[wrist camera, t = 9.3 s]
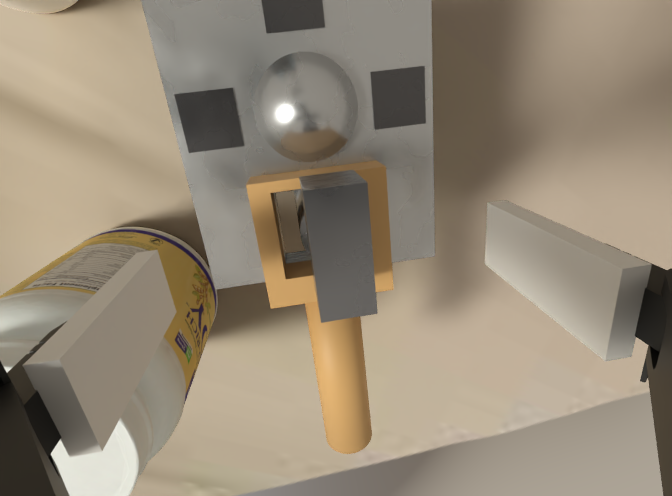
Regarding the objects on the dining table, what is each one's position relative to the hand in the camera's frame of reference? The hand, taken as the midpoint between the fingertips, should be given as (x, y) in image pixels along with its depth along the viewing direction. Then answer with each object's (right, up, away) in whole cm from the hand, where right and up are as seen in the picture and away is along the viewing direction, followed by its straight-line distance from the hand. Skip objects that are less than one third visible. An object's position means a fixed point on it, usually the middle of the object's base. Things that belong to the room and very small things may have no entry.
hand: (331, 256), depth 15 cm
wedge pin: (-2, +6, +15) cm, 16 cm away
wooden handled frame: (0, -3, +10) cm, 10 cm away
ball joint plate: (-2, +10, +14) cm, 17 cm away
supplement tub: (-16, -3, +17) cm, 24 cm away
